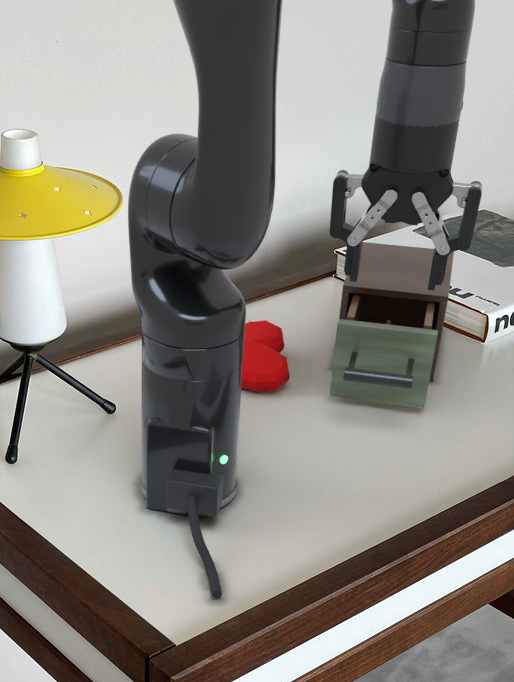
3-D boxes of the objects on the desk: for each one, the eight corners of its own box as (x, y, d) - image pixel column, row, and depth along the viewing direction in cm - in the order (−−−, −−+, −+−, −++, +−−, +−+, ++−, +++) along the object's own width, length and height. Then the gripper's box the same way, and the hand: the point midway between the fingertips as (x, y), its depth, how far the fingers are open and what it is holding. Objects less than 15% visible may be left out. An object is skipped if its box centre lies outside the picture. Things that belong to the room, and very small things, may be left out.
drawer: (420, 434, 107) (434, 358, 101) (321, 420, 109) (330, 345, 104) (431, 355, 122) (443, 286, 117) (344, 345, 124) (352, 276, 119)
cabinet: (432, 382, 118) (448, 296, 112) (333, 369, 121) (343, 285, 115) (439, 330, 129) (454, 250, 123) (348, 320, 132) (358, 241, 126)
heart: (204, 406, 117) (291, 399, 116) (201, 377, 114) (291, 369, 113) (200, 346, 125) (281, 338, 124) (197, 317, 122) (280, 309, 121)
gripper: (333, 116, 91) (315, 289, 101) (499, 127, 88) (465, 306, 97) (343, 97, 97) (326, 262, 106) (500, 107, 94) (467, 277, 103)
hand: (392, 283), depth 102 cm, fingers open, 7 cm apart
